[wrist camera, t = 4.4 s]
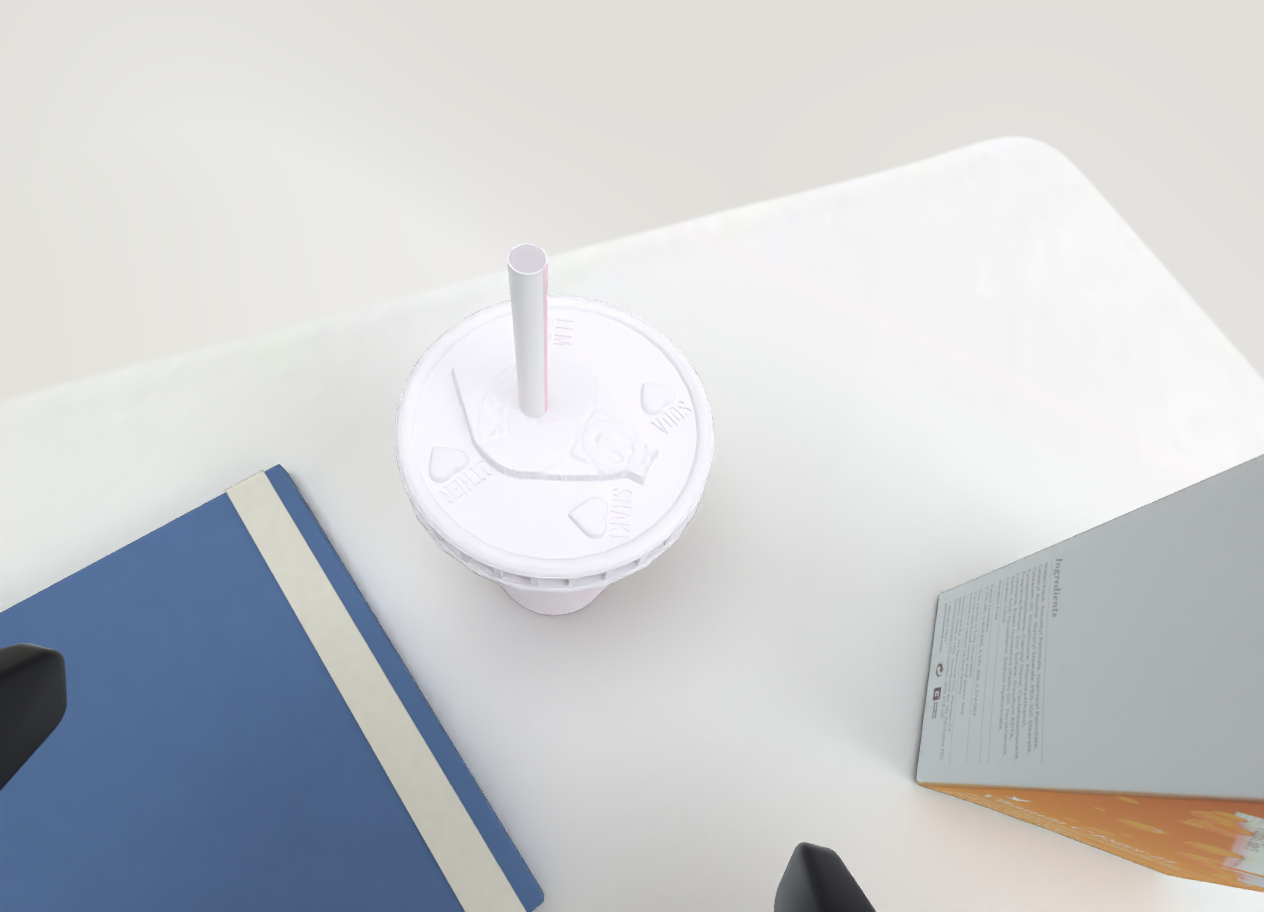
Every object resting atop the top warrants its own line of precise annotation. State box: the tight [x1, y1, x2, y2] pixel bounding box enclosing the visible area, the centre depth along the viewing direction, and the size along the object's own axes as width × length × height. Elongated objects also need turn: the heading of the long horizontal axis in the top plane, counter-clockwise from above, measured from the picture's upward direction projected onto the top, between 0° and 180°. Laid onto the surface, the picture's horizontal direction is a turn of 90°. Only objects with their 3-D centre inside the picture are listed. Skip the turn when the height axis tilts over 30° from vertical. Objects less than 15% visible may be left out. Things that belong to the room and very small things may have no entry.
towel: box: [0, 464, 544, 912], centre depth 17 cm, size 15×17×1 cm
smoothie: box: [394, 243, 714, 615], centre depth 16 cm, size 6×6×14 cm
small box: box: [916, 454, 1264, 892], centre depth 16 cm, size 8×6×13 cm
